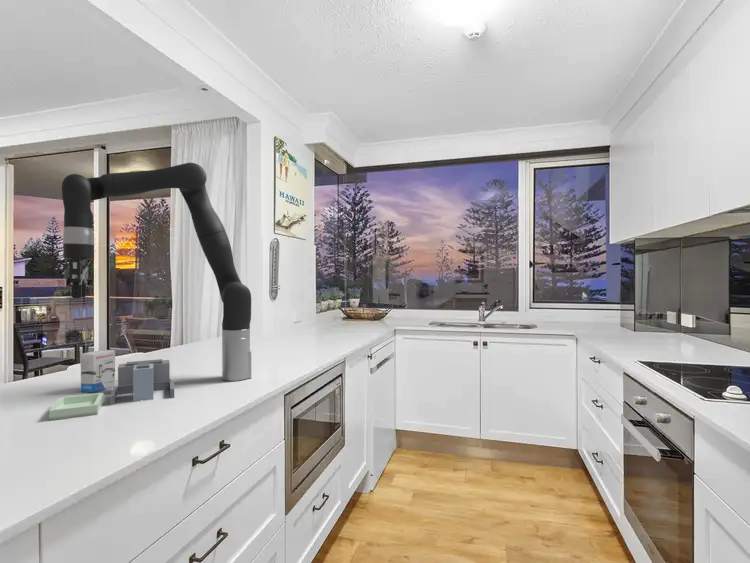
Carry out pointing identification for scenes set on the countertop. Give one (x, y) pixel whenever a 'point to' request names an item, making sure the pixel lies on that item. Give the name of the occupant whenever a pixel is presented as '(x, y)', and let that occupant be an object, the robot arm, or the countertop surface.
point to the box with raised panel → (143, 382)
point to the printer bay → (159, 378)
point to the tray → (76, 406)
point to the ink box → (97, 370)
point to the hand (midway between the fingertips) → (79, 297)
